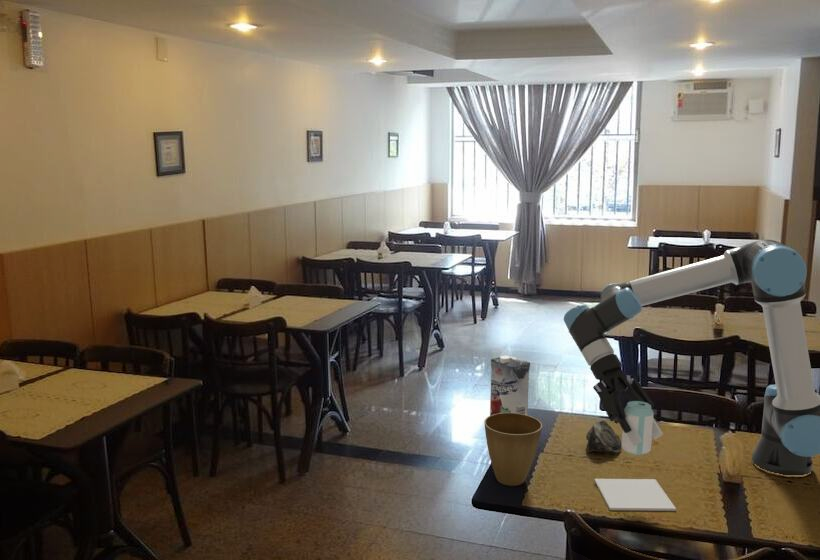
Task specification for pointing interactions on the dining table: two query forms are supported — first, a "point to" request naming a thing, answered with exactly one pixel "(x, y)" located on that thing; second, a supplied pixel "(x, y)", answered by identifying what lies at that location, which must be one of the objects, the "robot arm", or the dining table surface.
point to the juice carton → (509, 385)
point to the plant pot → (512, 445)
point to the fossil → (603, 438)
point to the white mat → (634, 494)
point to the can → (639, 427)
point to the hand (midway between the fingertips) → (648, 440)
